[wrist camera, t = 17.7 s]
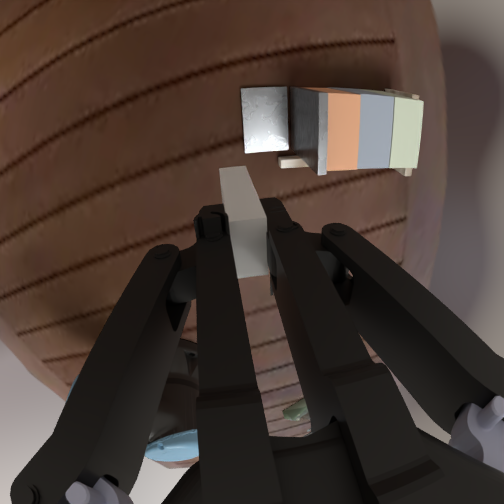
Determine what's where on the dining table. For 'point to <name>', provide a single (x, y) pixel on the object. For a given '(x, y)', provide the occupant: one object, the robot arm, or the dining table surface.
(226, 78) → the dining table surface
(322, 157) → the bookend
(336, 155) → the book rust
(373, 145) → the book slate
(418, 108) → the book sage
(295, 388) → the dining table surface
